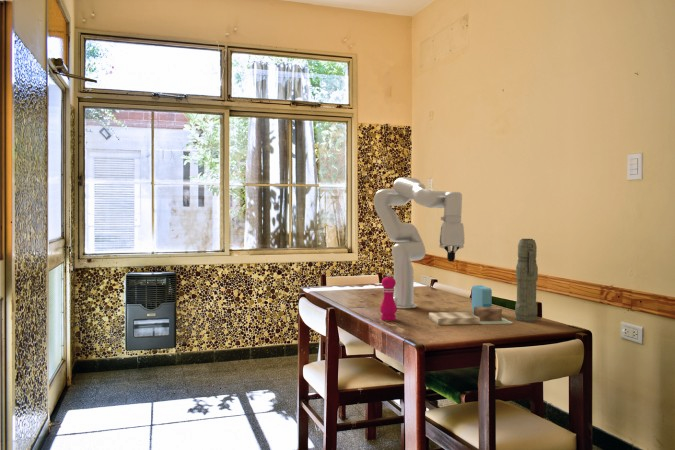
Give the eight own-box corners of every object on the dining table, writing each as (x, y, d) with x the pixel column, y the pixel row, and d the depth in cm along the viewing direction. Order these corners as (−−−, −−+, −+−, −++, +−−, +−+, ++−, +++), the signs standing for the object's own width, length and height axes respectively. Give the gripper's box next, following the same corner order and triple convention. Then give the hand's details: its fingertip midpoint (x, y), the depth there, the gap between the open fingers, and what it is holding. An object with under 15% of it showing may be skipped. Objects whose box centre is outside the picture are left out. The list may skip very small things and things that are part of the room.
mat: (480, 324, 226) (480, 323, 226) (467, 317, 241) (467, 316, 241) (512, 323, 228) (512, 322, 228) (498, 316, 242) (498, 315, 242)
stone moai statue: (523, 323, 229) (524, 239, 228) (510, 317, 240) (511, 238, 239) (542, 322, 230) (544, 239, 229) (529, 317, 242) (530, 238, 241)
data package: (491, 315, 246) (492, 288, 246) (482, 315, 245) (482, 288, 245) (480, 310, 258) (480, 285, 257) (471, 310, 257) (471, 285, 257)
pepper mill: (398, 318, 237) (398, 272, 237) (394, 321, 230) (395, 274, 230) (382, 317, 240) (382, 271, 239) (378, 320, 233) (378, 273, 232)
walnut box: (478, 321, 230) (478, 309, 230) (473, 318, 236) (473, 306, 236) (501, 320, 231) (502, 309, 231) (496, 318, 237) (496, 306, 237)
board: (437, 324, 225) (437, 318, 225) (428, 318, 238) (428, 312, 238) (479, 323, 227) (479, 317, 227) (468, 317, 240) (468, 311, 240)
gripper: (438, 220, 236) (437, 262, 237) (471, 220, 237) (470, 262, 238) (433, 219, 243) (432, 260, 244) (465, 219, 245) (464, 260, 246)
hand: (450, 261), depth 241 cm, fingers closed
